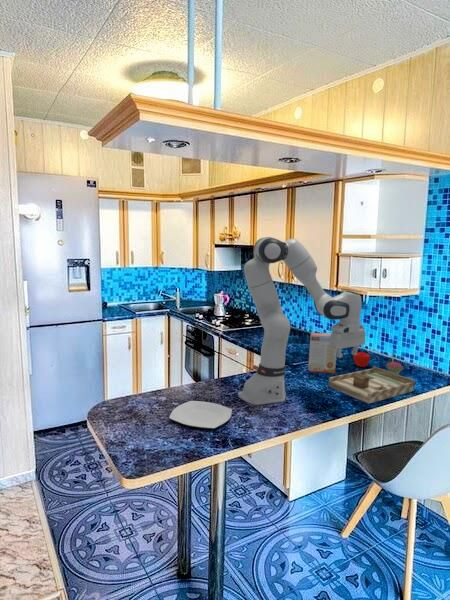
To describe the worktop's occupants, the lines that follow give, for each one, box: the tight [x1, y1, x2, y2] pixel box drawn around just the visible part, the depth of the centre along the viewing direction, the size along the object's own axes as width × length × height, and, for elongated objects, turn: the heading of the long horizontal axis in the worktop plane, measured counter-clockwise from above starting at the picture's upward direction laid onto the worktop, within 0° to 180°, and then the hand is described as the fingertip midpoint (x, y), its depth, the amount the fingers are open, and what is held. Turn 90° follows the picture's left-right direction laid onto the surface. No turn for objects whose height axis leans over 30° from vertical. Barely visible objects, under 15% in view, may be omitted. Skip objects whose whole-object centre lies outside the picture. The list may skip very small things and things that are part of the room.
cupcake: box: [385, 353, 404, 375], centre depth 229 cm, size 9×8×12 cm
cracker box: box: [307, 332, 338, 374], centre depth 229 cm, size 14×6×21 cm, turn 84°
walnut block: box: [353, 374, 369, 389], centre depth 202 cm, size 5×5×5 cm
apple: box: [353, 351, 371, 368], centre depth 242 cm, size 9×9×8 cm
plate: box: [168, 400, 233, 430], centre depth 166 cm, size 23×23×2 cm
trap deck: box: [327, 365, 416, 405], centre depth 206 cm, size 34×24×6 cm
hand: (346, 356), depth 193 cm, fingers open, 8 cm apart
